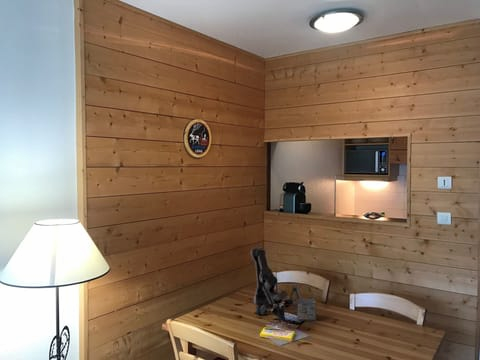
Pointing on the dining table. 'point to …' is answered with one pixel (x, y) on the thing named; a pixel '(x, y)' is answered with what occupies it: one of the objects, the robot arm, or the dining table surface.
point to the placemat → (296, 337)
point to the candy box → (277, 334)
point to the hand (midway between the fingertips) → (284, 320)
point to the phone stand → (296, 293)
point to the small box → (306, 309)
